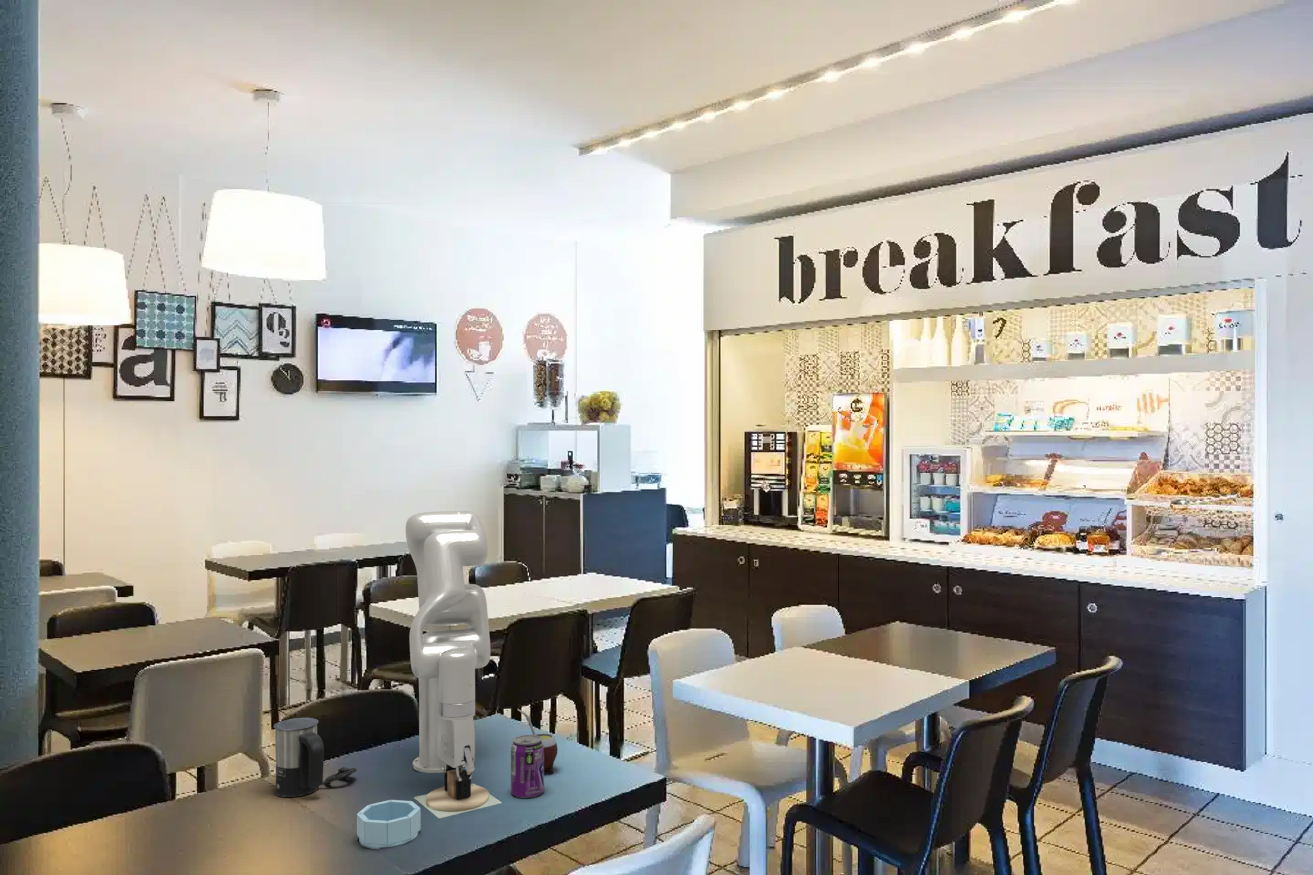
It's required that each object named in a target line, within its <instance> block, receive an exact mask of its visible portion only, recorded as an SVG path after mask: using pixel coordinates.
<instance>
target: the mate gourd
mask: <svg viewBox="0 0 1313 875" xmlns="http://www.w3.org/2000/svg"><path fill="white" fill-rule="evenodd" d="M516 710H517V711H518V712H520V713H521V714H522V715H523V716H524V717H525V719H526V721H527V722H528V725H529V728H530V729H531V733H532V735H537V736H540V737H541V738H542V741H541V742H542V744H543V746H544V774H547V773H548V775H554V770H553V768H554V763H555V760H556V759H557V755H558V744H557V740H556V738H555V737H554V735H552V734H549V733H538V734H536V732H535V729H534V727H533V724H532V721H531V720H532V719H531V717H530V716H529V715H528V714H527V713H526V711H525V712H524V711H523V710H521V709H519V708H517V709H516Z"/></svg>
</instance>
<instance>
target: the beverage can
mask: <svg viewBox="0 0 1313 875" xmlns="http://www.w3.org/2000/svg"><path fill="white" fill-rule="evenodd" d="M541 741H542V738H541V737H540V736H537V735H533V734H523V735H518V736H516V737H514V738H513V739H512V745H511V747H510V793H511V795H513V796H515V797H517V798H521V799H528V798H531V799H532V798H535V797H538V796H539V795H542V794H543V793H544V792H545V773H544V746H543V744H542V742H541Z"/></svg>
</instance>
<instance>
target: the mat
mask: <svg viewBox="0 0 1313 875" xmlns="http://www.w3.org/2000/svg"><path fill="white" fill-rule="evenodd" d="M471 785H477V784H476V783H471ZM428 794H429V793H427V794H422V795H417V796H414V797H413V799H414V800H416V801H417V802H418V803H420V804H421V806H422V807H424V808H425V809H427V811H429V812H430V813H431V814H433V815H434V816H435V817H436V818H437V819H439V820H440V819H445V818H447V817H452V816H457V815H459V814H464V813H468V812H471V811H475V810H480V809H484V808H488V807H492V806H496V805H500V804H503V802H502V801H500V800H499V799H497V798H496V797H494V796H493V795H491V794H490V793H489V799H488V801H487V802H486V803H485V804H483V805H482V806H480V807H477V808H474V809H471V810H466V811H459V812H442V811H436V810H433V809H431V808H429V807H428V806H427V805H426V796H427V795H428Z"/></svg>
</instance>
